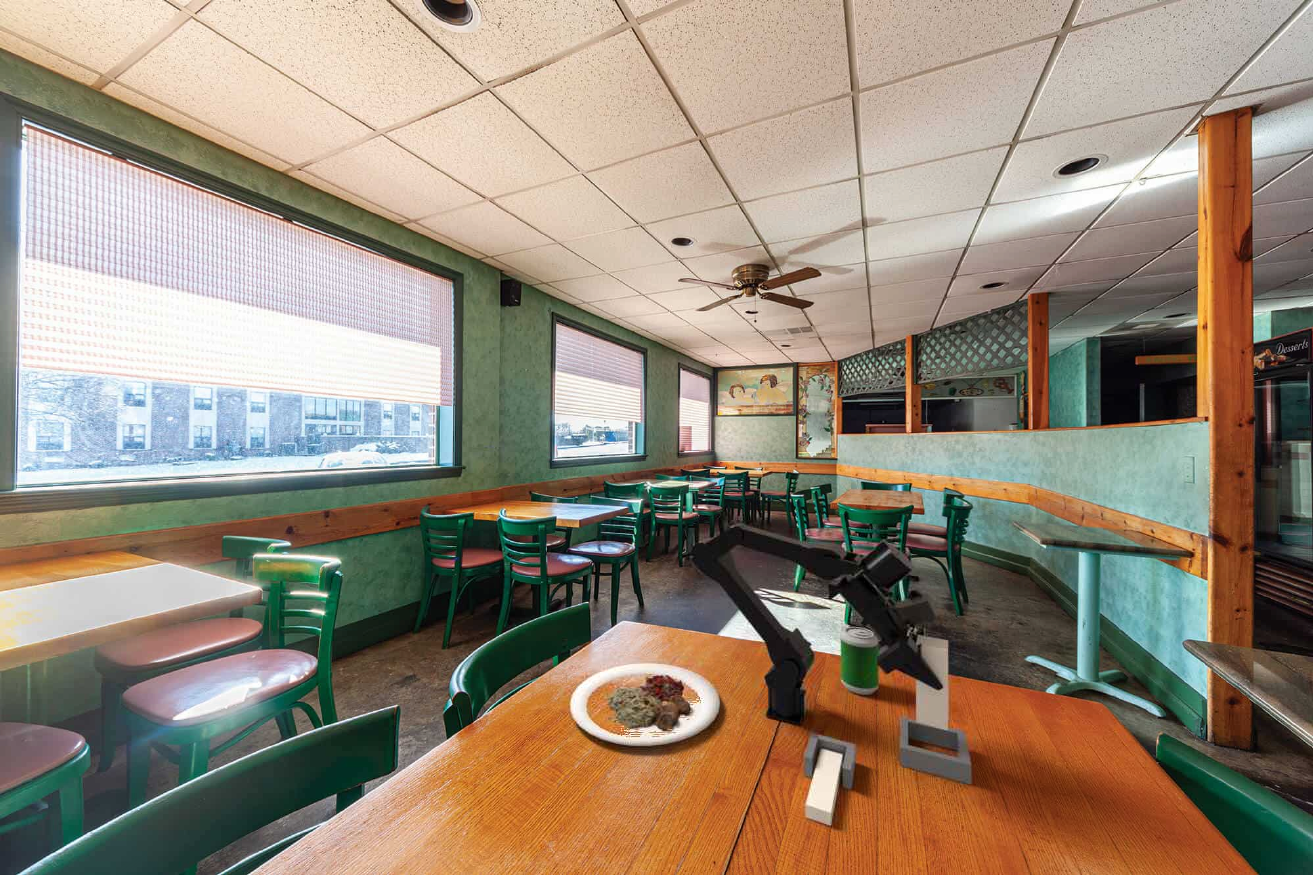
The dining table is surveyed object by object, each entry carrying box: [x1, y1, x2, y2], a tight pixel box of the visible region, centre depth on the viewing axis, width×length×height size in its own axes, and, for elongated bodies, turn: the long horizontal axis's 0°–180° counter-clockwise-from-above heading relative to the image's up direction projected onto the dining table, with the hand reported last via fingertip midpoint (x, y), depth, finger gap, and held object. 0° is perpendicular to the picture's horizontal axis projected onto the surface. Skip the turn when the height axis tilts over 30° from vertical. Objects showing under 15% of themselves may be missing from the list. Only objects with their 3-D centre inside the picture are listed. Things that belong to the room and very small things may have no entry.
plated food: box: [569, 662, 721, 747], centre depth 98 cm, size 30×30×3 cm
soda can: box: [840, 626, 880, 696], centre depth 104 cm, size 8×8×12 cm
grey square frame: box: [899, 716, 973, 786], centre depth 81 cm, size 10×10×3 cm
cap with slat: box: [803, 732, 856, 827], centre depth 74 cm, size 7×16×3 cm, turn 153°
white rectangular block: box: [915, 635, 949, 731], centre depth 81 cm, size 4×4×13 cm
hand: (941, 682), depth 81 cm, fingers closed on white rectangular block, 4 cm apart
